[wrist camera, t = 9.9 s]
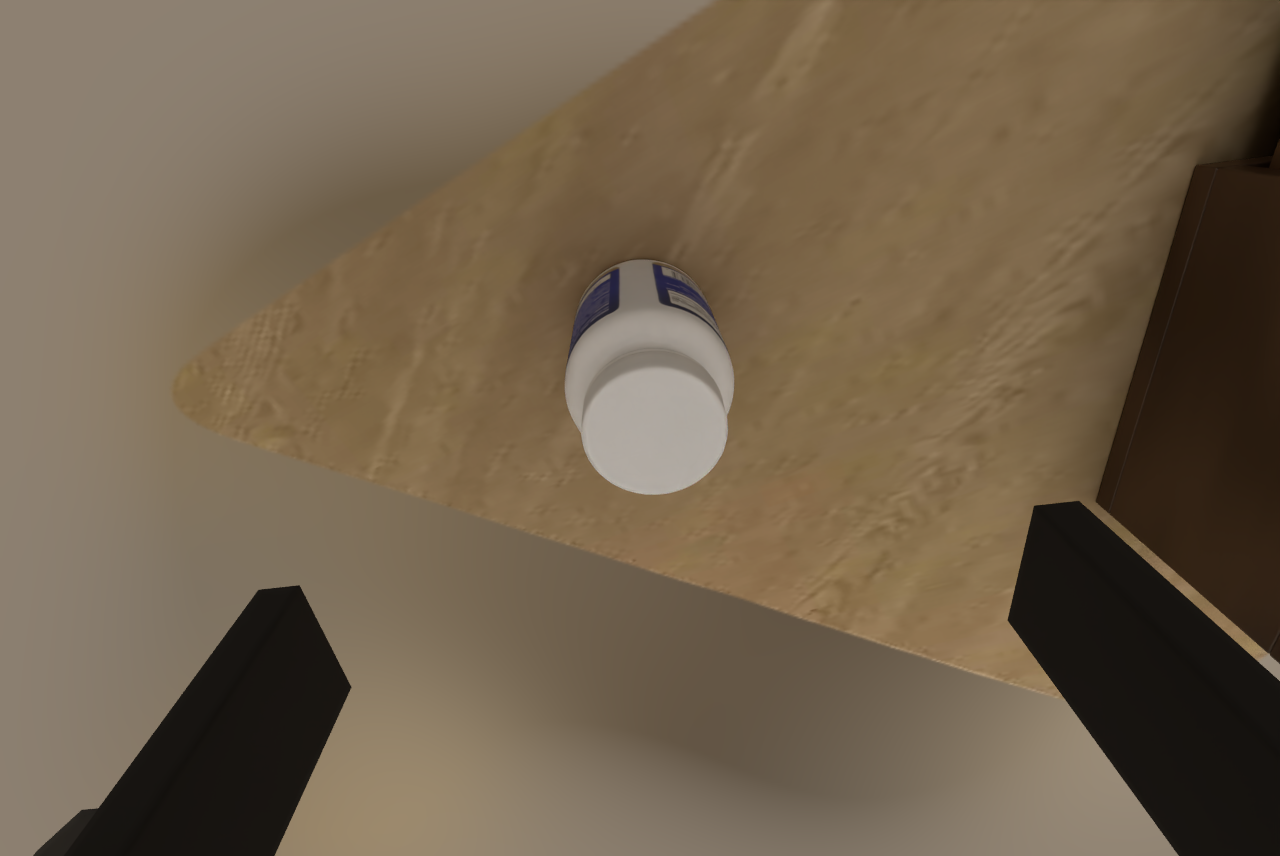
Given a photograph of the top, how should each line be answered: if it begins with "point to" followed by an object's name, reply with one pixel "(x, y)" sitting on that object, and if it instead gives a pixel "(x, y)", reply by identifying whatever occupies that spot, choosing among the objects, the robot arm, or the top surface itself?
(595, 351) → the pill bottle
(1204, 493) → the brown rectangular box
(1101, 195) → the top surface
